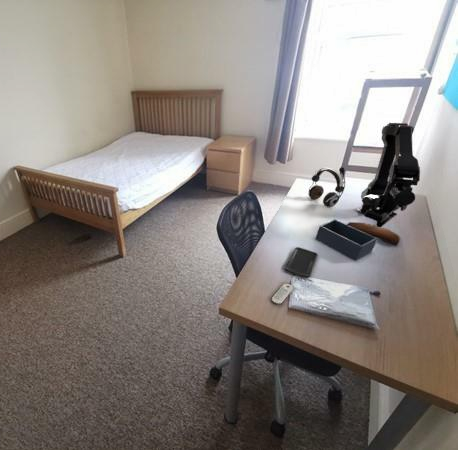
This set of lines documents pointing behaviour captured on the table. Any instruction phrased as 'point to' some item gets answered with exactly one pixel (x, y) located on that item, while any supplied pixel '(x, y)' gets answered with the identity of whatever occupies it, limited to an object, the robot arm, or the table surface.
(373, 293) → the table surface
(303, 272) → the phone
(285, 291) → the keychain
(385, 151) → the robot arm
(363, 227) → the sunglasses case
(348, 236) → the box
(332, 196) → the headset
